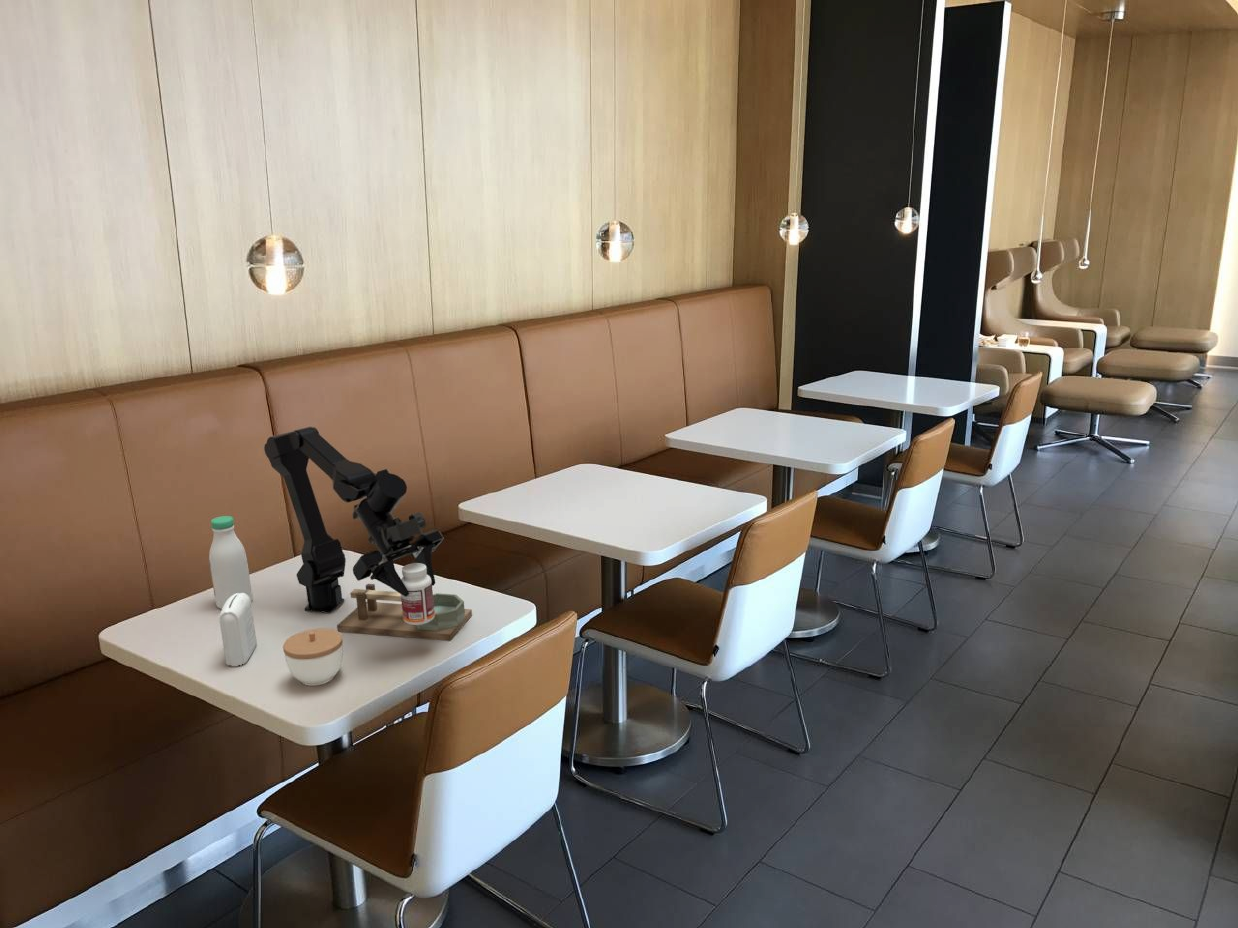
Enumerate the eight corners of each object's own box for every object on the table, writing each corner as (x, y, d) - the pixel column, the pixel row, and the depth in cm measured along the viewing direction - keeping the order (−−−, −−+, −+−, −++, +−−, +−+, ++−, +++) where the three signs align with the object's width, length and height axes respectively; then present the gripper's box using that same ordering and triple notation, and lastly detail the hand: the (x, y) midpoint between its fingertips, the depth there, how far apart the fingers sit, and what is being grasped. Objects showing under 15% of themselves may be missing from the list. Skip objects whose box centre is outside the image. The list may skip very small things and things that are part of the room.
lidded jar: (294, 666, 199) (288, 622, 197) (351, 662, 200) (345, 618, 198) (282, 694, 189) (275, 647, 187) (341, 690, 190) (335, 643, 187)
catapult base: (337, 631, 214) (333, 599, 212) (364, 607, 225) (361, 576, 223) (450, 640, 208) (447, 607, 206) (472, 615, 219) (469, 584, 217)
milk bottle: (260, 600, 230) (248, 516, 224) (231, 613, 224) (218, 527, 218) (237, 593, 234) (225, 510, 228) (208, 606, 228) (195, 521, 222)
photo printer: (238, 644, 210) (229, 588, 206) (259, 642, 210) (251, 586, 206) (223, 668, 200) (214, 609, 196) (246, 666, 200) (237, 608, 196)
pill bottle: (425, 609, 207) (420, 558, 204) (441, 619, 202) (436, 567, 199) (397, 618, 203) (392, 567, 200) (412, 629, 198) (407, 576, 195)
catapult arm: (343, 623, 214) (340, 600, 212) (366, 603, 223) (363, 580, 222) (452, 632, 208) (450, 608, 207) (470, 610, 218) (468, 588, 216)
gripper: (355, 516, 191) (397, 586, 188) (434, 490, 205) (474, 555, 201) (335, 546, 199) (375, 613, 195) (412, 519, 212) (451, 582, 208)
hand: (420, 590), depth 200 cm, fingers closed on pill bottle, 6 cm apart
